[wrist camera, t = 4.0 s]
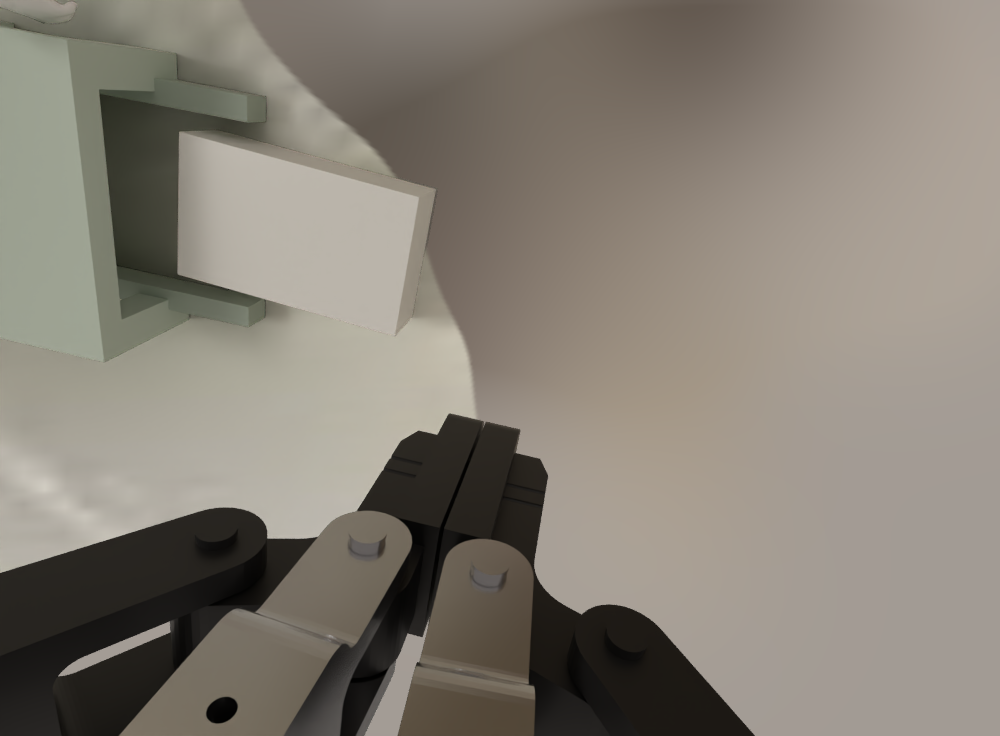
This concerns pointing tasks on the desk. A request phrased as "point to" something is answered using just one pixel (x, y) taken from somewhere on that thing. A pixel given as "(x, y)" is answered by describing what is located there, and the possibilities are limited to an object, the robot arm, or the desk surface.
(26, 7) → the hat wearing toy figure
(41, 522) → the desk surface
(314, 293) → the cover plate
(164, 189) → the desk surface
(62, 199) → the shelf
